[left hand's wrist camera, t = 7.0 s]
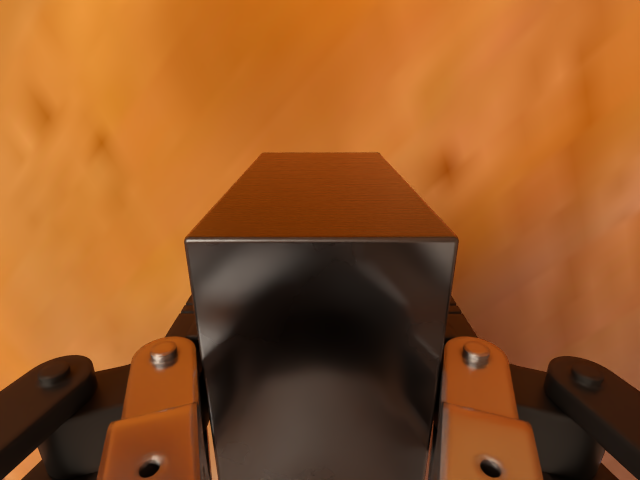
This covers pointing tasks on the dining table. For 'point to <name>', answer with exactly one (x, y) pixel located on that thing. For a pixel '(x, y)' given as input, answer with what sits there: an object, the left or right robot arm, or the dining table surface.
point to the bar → (321, 319)
